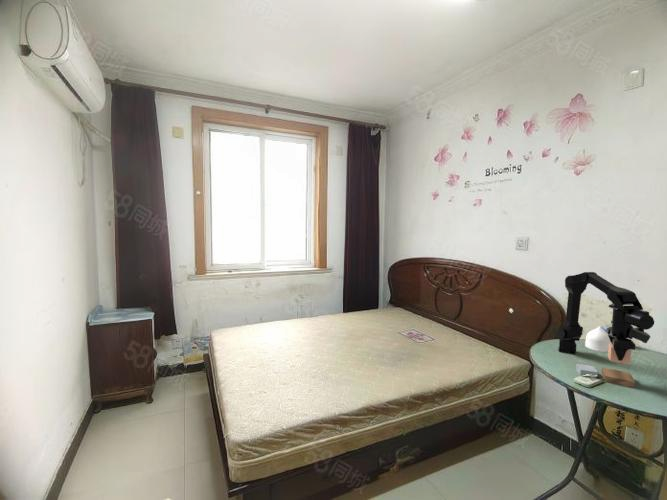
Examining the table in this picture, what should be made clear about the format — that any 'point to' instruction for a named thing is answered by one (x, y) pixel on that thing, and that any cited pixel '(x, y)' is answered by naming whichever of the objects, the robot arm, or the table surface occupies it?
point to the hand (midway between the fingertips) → (618, 357)
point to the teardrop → (597, 340)
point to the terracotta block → (613, 355)
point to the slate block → (586, 369)
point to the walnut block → (618, 377)
